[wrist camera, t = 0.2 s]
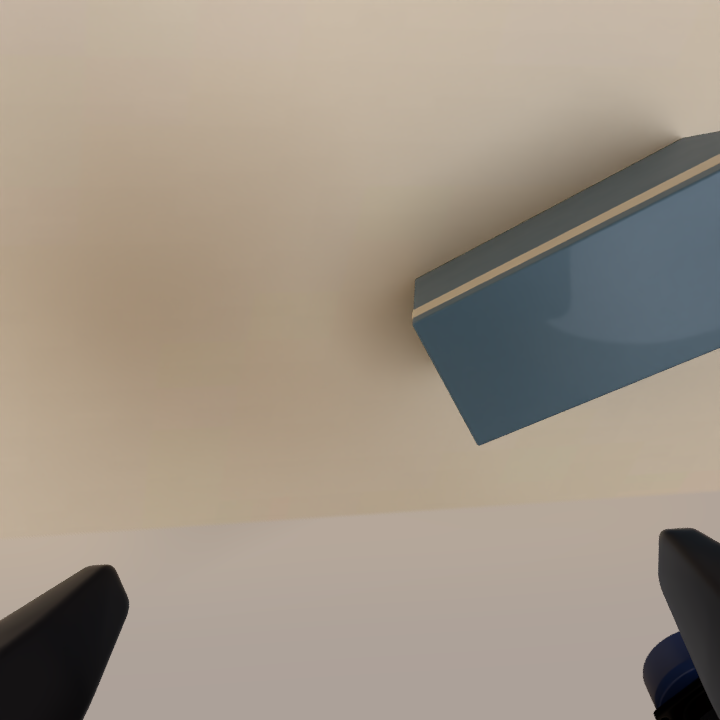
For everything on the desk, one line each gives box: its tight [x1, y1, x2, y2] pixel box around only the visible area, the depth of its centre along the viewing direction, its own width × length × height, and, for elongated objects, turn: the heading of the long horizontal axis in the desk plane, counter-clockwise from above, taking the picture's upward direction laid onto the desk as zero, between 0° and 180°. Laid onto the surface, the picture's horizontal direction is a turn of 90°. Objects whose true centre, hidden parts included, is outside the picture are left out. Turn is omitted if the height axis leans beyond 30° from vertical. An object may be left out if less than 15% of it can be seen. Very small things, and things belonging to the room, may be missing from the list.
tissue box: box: [412, 131, 720, 445], centre depth 16 cm, size 11×5×7 cm, turn 119°
